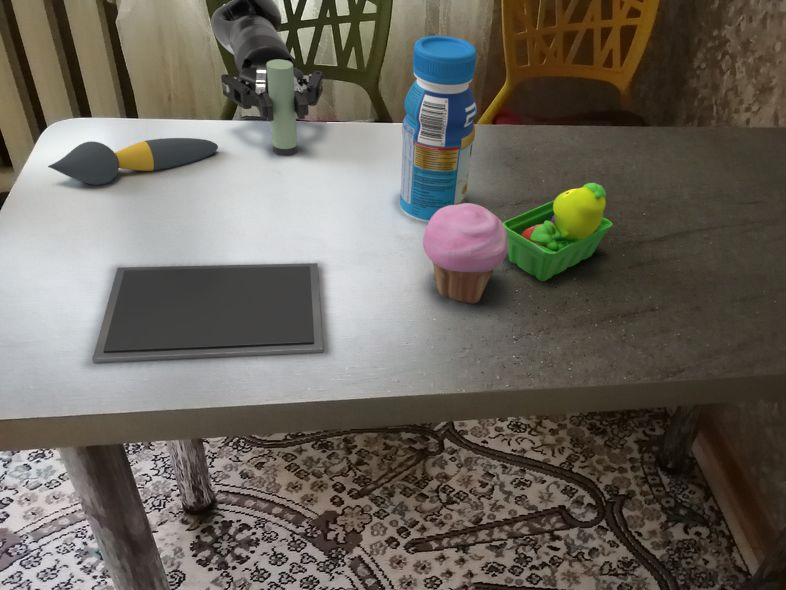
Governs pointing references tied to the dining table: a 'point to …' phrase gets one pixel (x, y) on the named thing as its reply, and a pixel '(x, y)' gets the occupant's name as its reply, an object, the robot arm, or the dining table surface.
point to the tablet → (211, 312)
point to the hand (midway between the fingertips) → (286, 112)
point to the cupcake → (464, 249)
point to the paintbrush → (130, 158)
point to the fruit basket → (558, 232)
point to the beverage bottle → (438, 127)
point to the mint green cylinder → (282, 106)
